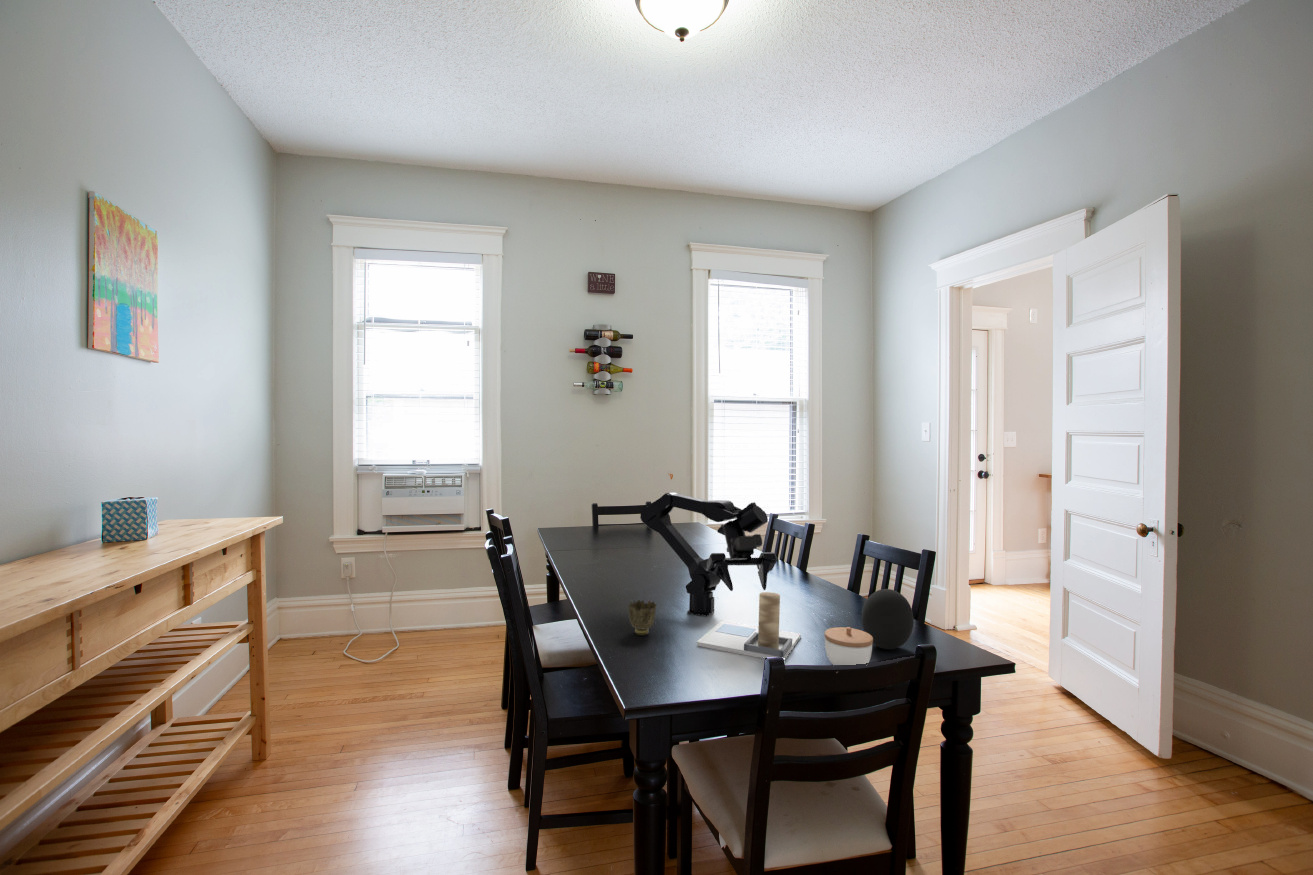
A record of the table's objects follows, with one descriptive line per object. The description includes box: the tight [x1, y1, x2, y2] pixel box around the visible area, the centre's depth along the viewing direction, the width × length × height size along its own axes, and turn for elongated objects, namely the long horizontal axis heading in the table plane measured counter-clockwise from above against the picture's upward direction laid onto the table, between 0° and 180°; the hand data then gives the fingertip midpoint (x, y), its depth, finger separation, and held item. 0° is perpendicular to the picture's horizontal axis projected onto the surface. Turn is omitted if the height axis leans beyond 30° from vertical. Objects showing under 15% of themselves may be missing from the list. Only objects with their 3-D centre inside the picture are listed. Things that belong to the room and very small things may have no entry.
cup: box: [627, 599, 657, 636], centre depth 160 cm, size 8×7×8 cm
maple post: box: [758, 591, 781, 649], centre depth 149 cm, size 5×5×13 cm
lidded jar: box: [824, 626, 873, 666], centre depth 140 cm, size 11×11×9 cm
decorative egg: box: [861, 588, 915, 650], centre depth 153 cm, size 12×12×15 cm
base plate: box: [696, 620, 802, 660], centre depth 156 cm, size 22×19×2 cm
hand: (748, 589), depth 160 cm, fingers open, 9 cm apart
